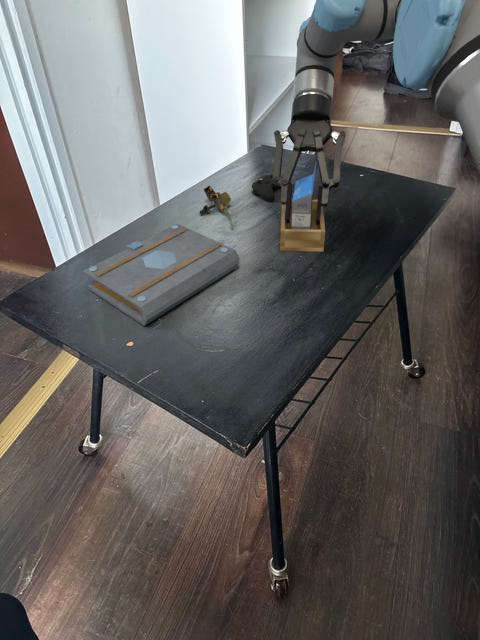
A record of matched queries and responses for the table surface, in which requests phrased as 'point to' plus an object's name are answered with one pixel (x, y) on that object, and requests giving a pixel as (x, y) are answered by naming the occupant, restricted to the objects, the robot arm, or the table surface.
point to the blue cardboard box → (303, 202)
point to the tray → (303, 233)
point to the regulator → (217, 202)
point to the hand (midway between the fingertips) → (302, 221)
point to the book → (161, 272)
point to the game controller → (264, 187)
